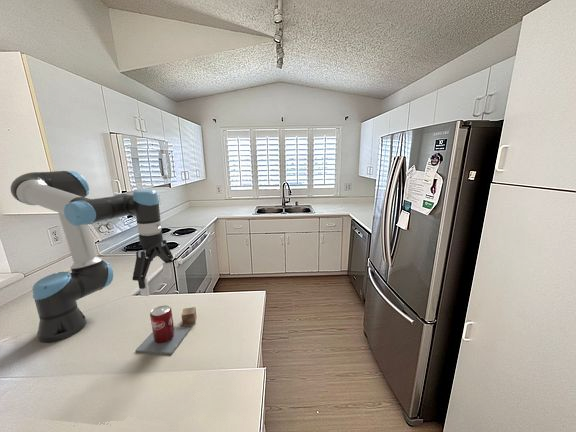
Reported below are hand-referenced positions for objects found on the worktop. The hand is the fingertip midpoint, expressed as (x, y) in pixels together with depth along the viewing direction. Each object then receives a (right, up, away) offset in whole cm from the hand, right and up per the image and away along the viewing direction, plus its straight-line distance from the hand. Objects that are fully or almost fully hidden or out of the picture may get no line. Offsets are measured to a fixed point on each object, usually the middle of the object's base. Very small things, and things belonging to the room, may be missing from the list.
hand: (157, 286), depth 96 cm
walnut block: (+8, -19, +12) cm, 24 cm away
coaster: (+2, -21, +1) cm, 21 cm away
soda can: (+2, -20, +1) cm, 21 cm away
